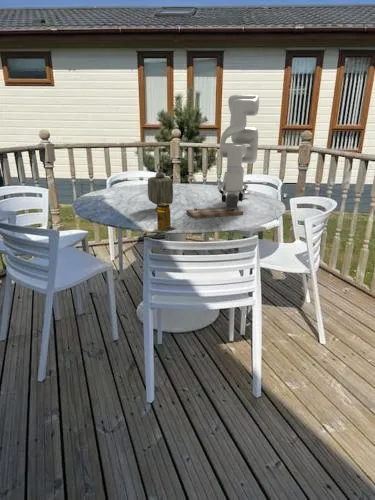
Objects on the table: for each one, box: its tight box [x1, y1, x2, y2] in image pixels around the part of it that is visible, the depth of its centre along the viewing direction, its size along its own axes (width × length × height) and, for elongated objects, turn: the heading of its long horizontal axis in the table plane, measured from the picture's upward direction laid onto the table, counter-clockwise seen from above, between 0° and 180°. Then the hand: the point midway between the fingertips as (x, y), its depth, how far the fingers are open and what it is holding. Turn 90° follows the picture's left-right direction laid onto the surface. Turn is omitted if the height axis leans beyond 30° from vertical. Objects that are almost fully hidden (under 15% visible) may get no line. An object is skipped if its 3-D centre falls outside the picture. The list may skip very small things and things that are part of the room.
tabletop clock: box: [147, 163, 174, 211], centre depth 193 cm, size 14×9×25 cm, turn 28°
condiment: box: [154, 203, 177, 233], centre depth 164 cm, size 7×8×12 cm
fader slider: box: [224, 194, 239, 210], centre depth 192 cm, size 5×6×7 cm
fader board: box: [185, 206, 244, 219], centre depth 191 cm, size 28×12×2 cm, turn 108°
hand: (232, 201), depth 192 cm, fingers open, 9 cm apart
